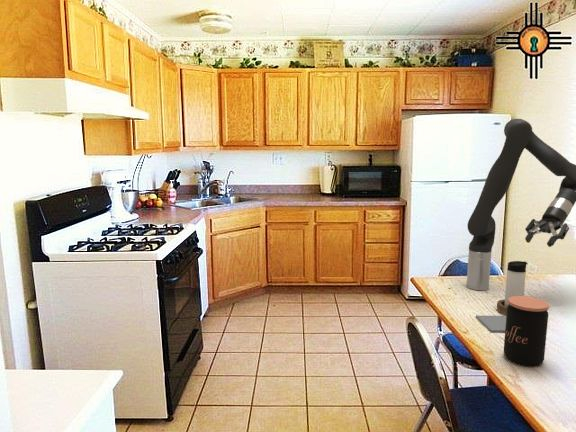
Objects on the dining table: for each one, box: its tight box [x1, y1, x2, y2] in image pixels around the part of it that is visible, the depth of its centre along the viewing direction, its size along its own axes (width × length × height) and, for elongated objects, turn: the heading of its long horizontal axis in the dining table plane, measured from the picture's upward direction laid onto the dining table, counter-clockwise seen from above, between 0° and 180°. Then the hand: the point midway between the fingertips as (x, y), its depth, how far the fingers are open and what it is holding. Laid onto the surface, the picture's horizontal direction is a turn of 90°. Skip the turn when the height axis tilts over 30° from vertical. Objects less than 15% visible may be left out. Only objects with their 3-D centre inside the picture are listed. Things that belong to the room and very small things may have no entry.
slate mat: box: [475, 315, 506, 334], centre depth 153 cm, size 13×13×1 cm
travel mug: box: [504, 260, 528, 307], centre depth 163 cm, size 6×7×20 cm
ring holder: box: [496, 298, 507, 316], centre depth 165 cm, size 11×11×3 cm
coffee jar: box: [503, 295, 550, 368], centre depth 127 cm, size 11×11×18 cm
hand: (537, 243), depth 166 cm, fingers open, 8 cm apart
